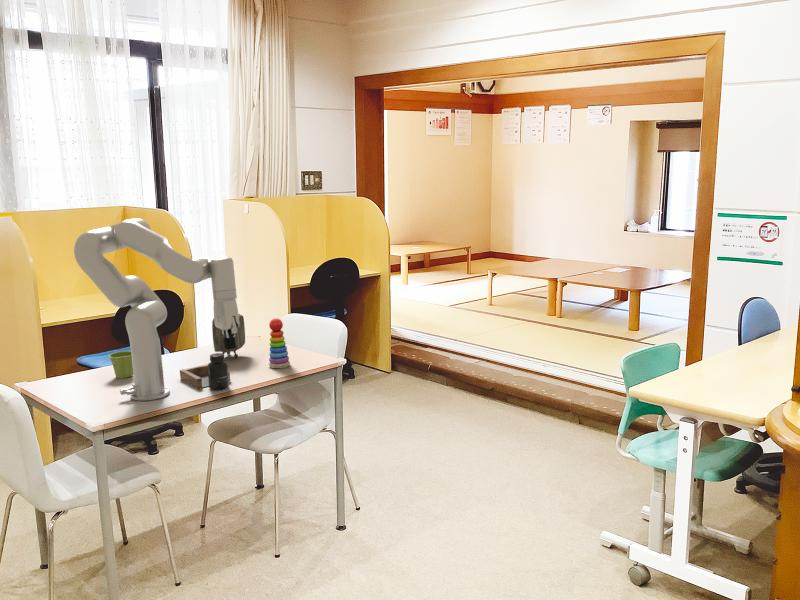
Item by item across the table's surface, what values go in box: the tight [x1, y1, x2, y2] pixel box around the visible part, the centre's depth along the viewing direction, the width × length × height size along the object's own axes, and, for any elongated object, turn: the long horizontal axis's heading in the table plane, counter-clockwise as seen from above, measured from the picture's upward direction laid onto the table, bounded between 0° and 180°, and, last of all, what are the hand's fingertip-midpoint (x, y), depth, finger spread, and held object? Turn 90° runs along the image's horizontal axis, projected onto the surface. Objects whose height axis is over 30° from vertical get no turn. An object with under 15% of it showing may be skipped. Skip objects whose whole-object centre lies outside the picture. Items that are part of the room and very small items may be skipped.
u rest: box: [179, 363, 231, 390], centre depth 260 cm, size 12×16×4 cm
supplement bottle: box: [208, 352, 230, 391], centre depth 250 cm, size 7×7×12 cm
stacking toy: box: [268, 318, 291, 369], centre depth 274 cm, size 8×8×19 cm
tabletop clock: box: [211, 313, 246, 359], centre depth 288 cm, size 14×9×25 cm, turn 177°
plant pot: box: [108, 350, 134, 379], centre depth 268 cm, size 9×9×9 cm
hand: (230, 348), depth 240 cm, fingers closed
